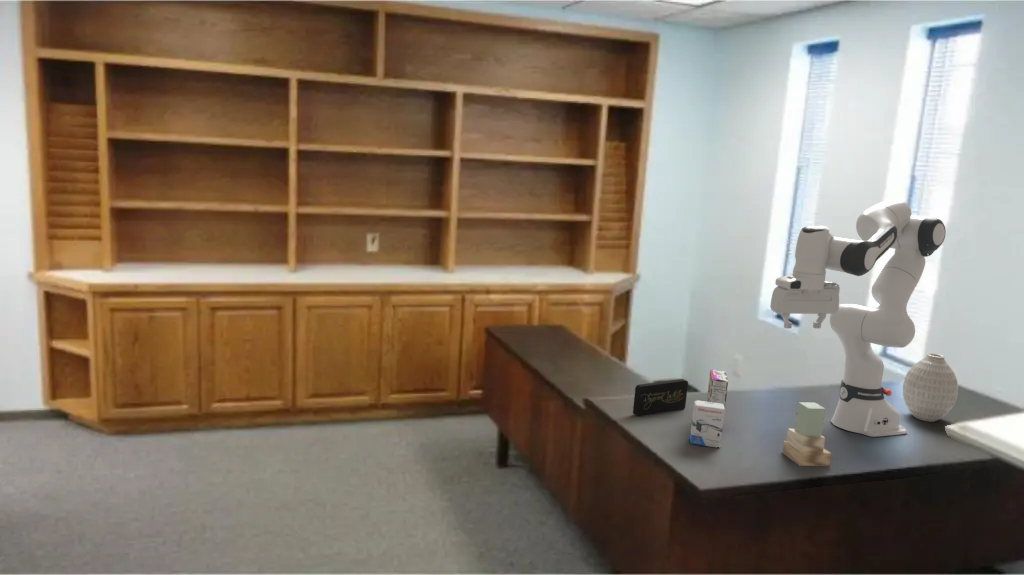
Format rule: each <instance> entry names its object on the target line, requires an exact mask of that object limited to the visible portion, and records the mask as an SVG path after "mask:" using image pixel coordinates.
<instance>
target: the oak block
mask: <svg viewBox="0 0 1024 575" xmlns="http://www.w3.org/2000/svg"><path fill="white" fill-rule="evenodd" d="M781 452H782V454H784V455H785V456H786V457H788V458H789V459H790V460H791V461H792V462H794V463H795V464H797V466H802V467H804V466H805V467H806V466H807V467H810V466H813V467H814V466H815V467H816V466H817V467H819V466H820V467H821V466H823V467H824V466H827V467H828V466H830V462H831V458H832V453H831V451H828V450H827V448H826V449H825V448H824V449H823V451H811V452H800V451H799V450H797V449H796V448H794V447H793V446H792V445H790V444H789V443H787V442H786V440H783V445H782V451H781Z"/></svg>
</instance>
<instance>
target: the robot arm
mask: <svg viewBox="0 0 1024 575" xmlns="http://www.w3.org/2000/svg"><path fill="white" fill-rule="evenodd" d="M855 225H856V226H855V227H856V228H855V229H856V232H857V234H858V236H859V238H860V239H859V240H858V239H849V238H845V237H844V238H843V237H839V236H835V235H832V234H831V233H830V229H829V227H827V226H825V225H819V224H816V225H815V224H814V225H813V224H812V225H805V226H804V227H802V228H801V229H800V231H799V233H798V237H797V241H796V246H795V253H794V257H795V258H794V259H795V264H794V266H793V270H792V272H791V273H789V274H787V275H784V276H781V277H777V278H776V279H775V286H776V287H774V289H773V291H772V294H771V300H770V309H771V311H772V313H773V312H774V313H776V314H779V315H780V314H781V315H780V316H781V318H782V320H783V327H784V329H792V325H793V322H791V321H789V318H790V316H791V314H793V315H795V314H796V315H797V314H798V315H799V314H803V315H804V314H806V315H807V314H809V315H810V314H813V315H814V314H815V315H816V314H817V319H816V321H813V324H812V328H814V329H821V328H822V323H823V322H824V320H825V319H826V318H827V314H828V315H830V316H829V323H830V327H831V330H833V332H834V333H835V334H836V336H837V337H838V338H839V340H840V342H841V344H842V347H843V351H844V360H845V361H844V370H843V371H844V372H843V378H842V379H841V382H840V388H839V398H838V402H837V405H836V408H835V411H834V414H833V416H832V418H831V420H830V422H831V424H832V425H834V426H836V427H838V428H839V429H843V430H845V431H848V432H851V433H857V434H861V435H864V436H868V437H870V438H871V437H872V438H875V437H877V438H878V437H885V436H896V435H897V436H898V435H899V436H900V435H906V434H908V433H907V429H906V428H905V427H904V426H903V425H901V424H900V422H901V420H900V413H899V411H898V410H897V409H896V408H895V406H893V405H891V404H890V402H888V400H887V399H885V396H887V397H890V396H892V393H893V391H892V390H891V389H889V388H884V387H882V380H883V375H884V369H885V365H884V361H883V360H882V358H881V357H880V356H879V355H877V354H876V353H875V351H874V350H873V348H872V346H871V344H874V345H878V346H881V347H886V348H900V349H902V348H905V347H907V346H909V344H911V343H912V341H913V339H914V338H915V334H916V327H915V326H916V325H915V323H914V321H913V320H912V318H911V317H910V316H909V314H908V312H907V307H908V303H909V301H910V298H911V296H912V294H913V293H914V291H915V288H916V287H917V285H918V283H919V282H920V280H921V277H922V275H923V272H924V270H925V267H926V257H927V258H928V257H930V256H931V255H933V253H934V252H935V251H937V250H938V249H939V248H940V247H941V245H943V243H944V241H945V238H946V235H947V234H946V225H945V223H944V222H943V221H942V220H941V219H940V218H937V217H933V216H922V215H914V214H913V215H912V210H911V207H910V205H908V203H907V202H905V201H904V200H902V199H898V198H893V199H888V200H885V201H881V202H879V203H877V204H875V205H873V206H871V207H869V208H868V209H865V210H864V211H863V212H862V213H861V214H860V215H859V216H858V218H857V220H856V224H855ZM889 249H894V254H893V255H892V257H890V259H889V260H888V261H887V262H886V263H885V265H884V267H883V268H882V269H881V271H880V273H879V275H878V276H877V278H876V280H875V281H874V282H873V285H872V287H871V295H872V297H873V299H874V300H875V301H876V302H877V303H878V304H879V306H878V307H871V306H866V305H861V304H856V303H840V290H841V287H840V285H839V284H838V283H836V282H835V281H831V282H829V281H826V274H827V270H830V271H835V272H841V273H846V274H849V275H853V276H856V277H860V276H864V275H866V274H867V273H868V272H870V271H871V270H872V269H873V268H874V266H875V265H876V263H877V261H878V260H879V259H880V258H881V257H882V256H883V255H885V254H886V253H887V252H888V250H889Z"/></svg>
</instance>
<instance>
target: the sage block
mask: <svg viewBox="0 0 1024 575" xmlns="http://www.w3.org/2000/svg"><path fill="white" fill-rule="evenodd" d="M825 412H826V408H825V407H823V406H821V405H820V404H819V403H816V402H810V401H809V402H807V401H806V402H802V401H800V402H798V405H797V412H796V420H795V427H794V428H795V430H796V431H798V432H799V433H801V434H802V435H804V436H821V435H822V434H823V426H824V419H825Z"/></svg>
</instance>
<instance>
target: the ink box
mask: <svg viewBox="0 0 1024 575" xmlns="http://www.w3.org/2000/svg"><path fill="white" fill-rule="evenodd" d="M692 408H693V409H692V410H693V411H692V417H691V420H692V421H691V426H690V433H689V443H690V444H692V445H699V446H705V447H713V448H717V447H719V448H721V445H722V444H721V443H722V437H723V430H724V419H725V412H726V406H725V407H724V405H723V404H720V403H713V402H707V400H705V401H704V400H699V399H698V400H694V402H693V407H692ZM719 448H718V449H719Z"/></svg>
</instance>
